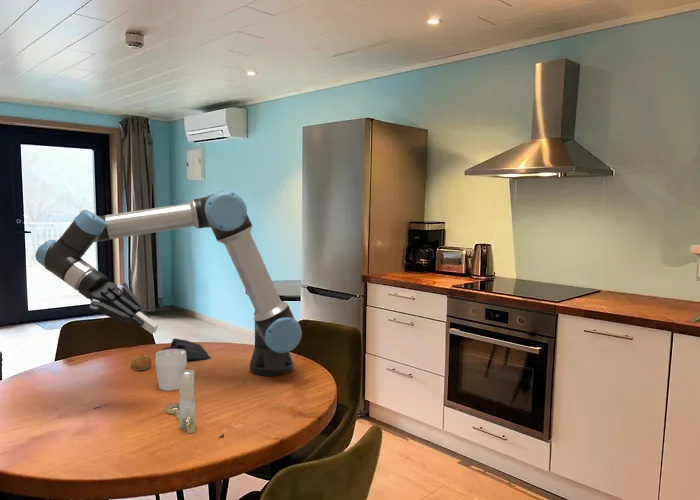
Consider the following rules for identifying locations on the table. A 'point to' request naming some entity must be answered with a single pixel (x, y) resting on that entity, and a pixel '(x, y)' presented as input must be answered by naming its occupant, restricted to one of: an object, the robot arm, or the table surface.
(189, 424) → the tuning peg
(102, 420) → the table surface
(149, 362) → the pastry
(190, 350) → the dark grey crumpled cloth
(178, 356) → the cup
